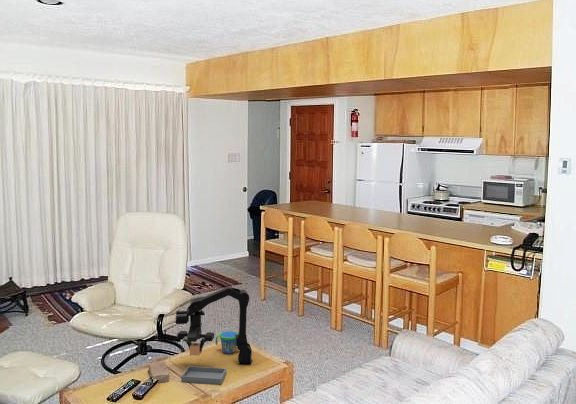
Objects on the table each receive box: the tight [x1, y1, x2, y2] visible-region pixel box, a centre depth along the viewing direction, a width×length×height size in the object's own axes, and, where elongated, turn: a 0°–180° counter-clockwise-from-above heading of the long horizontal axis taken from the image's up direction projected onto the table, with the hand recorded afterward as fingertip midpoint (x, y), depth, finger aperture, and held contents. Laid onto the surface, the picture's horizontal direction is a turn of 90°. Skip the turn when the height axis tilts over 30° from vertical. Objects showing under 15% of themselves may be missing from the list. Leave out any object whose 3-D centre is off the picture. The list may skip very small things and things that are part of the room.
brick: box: [148, 360, 170, 384], centre depth 265 cm, size 17×8×5 cm, turn 21°
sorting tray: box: [180, 365, 227, 386], centre depth 263 cm, size 20×12×3 cm, turn 84°
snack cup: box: [215, 330, 238, 354], centre depth 296 cm, size 16×10×10 cm
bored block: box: [189, 341, 203, 357], centre depth 276 cm, size 5×5×5 cm
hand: (195, 351), depth 276 cm, fingers closed on bored block, 5 cm apart
